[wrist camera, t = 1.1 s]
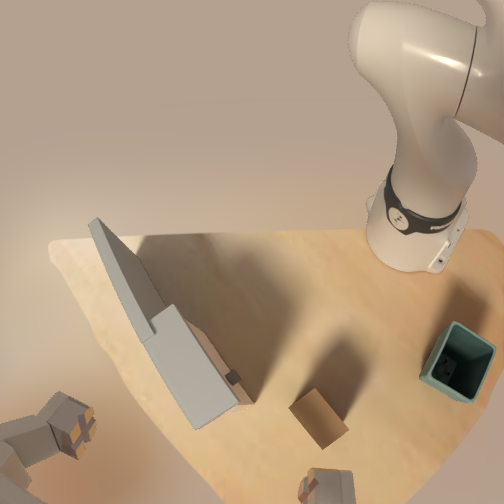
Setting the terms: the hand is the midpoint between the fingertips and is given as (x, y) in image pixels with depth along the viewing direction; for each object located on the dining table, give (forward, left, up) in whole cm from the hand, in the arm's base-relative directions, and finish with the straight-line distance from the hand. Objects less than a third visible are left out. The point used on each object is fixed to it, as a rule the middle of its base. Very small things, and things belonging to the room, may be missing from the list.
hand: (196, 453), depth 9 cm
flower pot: (-23, +12, -38) cm, 46 cm away
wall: (+5, -20, -37) cm, 43 cm away
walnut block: (-4, +4, -37) cm, 38 cm away
